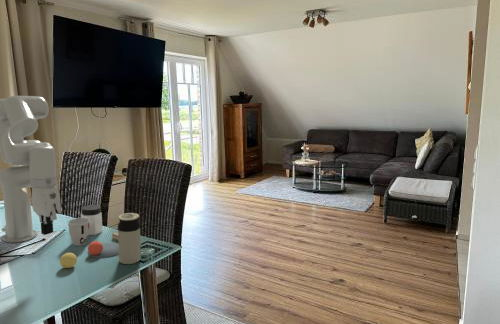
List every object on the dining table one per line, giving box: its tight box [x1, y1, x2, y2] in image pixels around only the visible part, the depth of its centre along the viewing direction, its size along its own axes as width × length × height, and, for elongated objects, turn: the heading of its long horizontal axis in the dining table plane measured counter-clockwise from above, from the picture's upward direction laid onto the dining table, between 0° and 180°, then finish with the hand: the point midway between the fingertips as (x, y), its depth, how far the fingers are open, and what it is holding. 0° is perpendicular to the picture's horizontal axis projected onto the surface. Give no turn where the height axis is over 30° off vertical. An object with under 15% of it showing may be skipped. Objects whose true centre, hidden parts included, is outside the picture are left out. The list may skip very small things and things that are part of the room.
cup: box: [67, 217, 89, 247], centre depth 146 cm, size 8×8×10 cm
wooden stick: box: [111, 231, 142, 247], centre depth 150 cm, size 2×16×2 cm, turn 59°
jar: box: [80, 204, 103, 236], centre depth 159 cm, size 9×8×12 cm
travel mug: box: [117, 212, 142, 265], centre depth 132 cm, size 8×8×18 cm
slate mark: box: [87, 242, 119, 259], centre depth 142 cm, size 14×14×1 cm
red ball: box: [87, 240, 103, 255], centre depth 137 cm, size 6×6×6 cm
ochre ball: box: [59, 252, 78, 269], centre depth 126 cm, size 6×6×6 cm
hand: (47, 233), depth 120 cm, fingers closed
